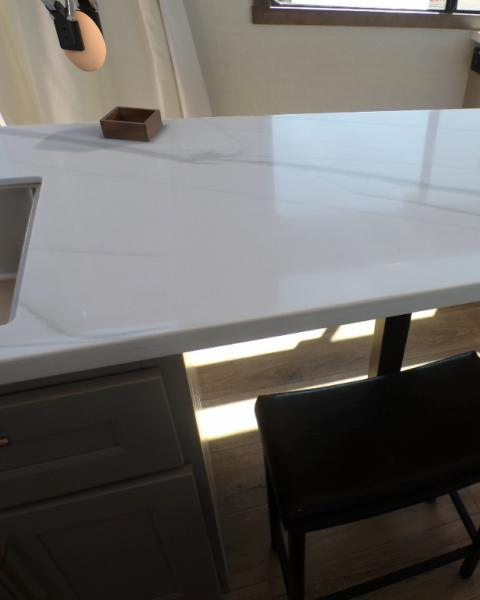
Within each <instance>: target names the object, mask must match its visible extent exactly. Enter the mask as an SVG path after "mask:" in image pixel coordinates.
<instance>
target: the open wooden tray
mask: <svg viewBox="0 0 480 600" xmlns="http://www.w3.org/2000/svg"><path fill="white" fill-rule="evenodd" d="M99 124H100V129H101V133H102V137H103V138H104V139H112V140H113V139H114V140H124V141H135V142H136V141H137V142H147V143H148V142H150V141H151V140H152V139H153V138H154V137H155V136H156V135H157V133H159V132H160V130H161V129H162V128H163V127H164V125H163V120H162V114H161V109H155V108H147V107H146V108H145V107H133V106H123V105H116V106H115V107H114V108H112V109H110V111H109V112H108V113H107V114H105V115H104V116H102V118H100V119H99Z"/></svg>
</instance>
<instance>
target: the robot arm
mask: <svg viewBox="0 0 480 600" xmlns="http://www.w3.org/2000/svg"><path fill="white" fill-rule="evenodd" d="M40 2H41V4H43V5H44V7H45V9H46V10H47V11H48V13H49V17H50V19H51V20H52V21H53V25H54V28H55V33H56V36H57V41H58V43H59V47H60V48H61V49H62V50H63V51H64V50H72V51H81V52H82V51H84V50H85V46H84V42H83V38H82V34H81V30H80V26H79V21H77V20H75V17H74V11H80V12H82V13H84V14H86V15H87V16H88V17H90V18H91V19H92V20H93V22H94V23H95V24H96V25H97V27H98V29H99V30H100V32H101V34H102V36H103V39H104V40H105V35H104V32H103V27H102V21H101V17H100V12H99V10H100V7H99V3H98V0H63V2H64V4H63V3H62V2H61V0H40ZM74 4H75V6H76V8H77V9H75V6H74Z"/></svg>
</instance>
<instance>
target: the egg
mask: <svg viewBox="0 0 480 600" xmlns="http://www.w3.org/2000/svg"><path fill="white" fill-rule="evenodd" d="M74 17H75V20H77V21H79V26H80V30H81V34H82V38H83V42H84V46H85V50H84V51H82V52H81V51H72V50H63V52H64V54H65V56H66V58H67V59H68V60H69V61H70V63H72V64H73V65H74V66H75V67H76V68H78V69H79V70H81V71H83V72H87V73H93V72H96V71H98V70H99V69H101V68H102V66H103V65H104V63H105V61H106V56H107V46H106V42H105V38H104V39H103V36H102V34H101V32H100V30H99V29H98V27H97V25H96V24H95V23H94V22H93V20H92V19H91V18H90V17H88V16H87V15H86V14H84V13H82V12H80V11H75V10H74Z"/></svg>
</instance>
